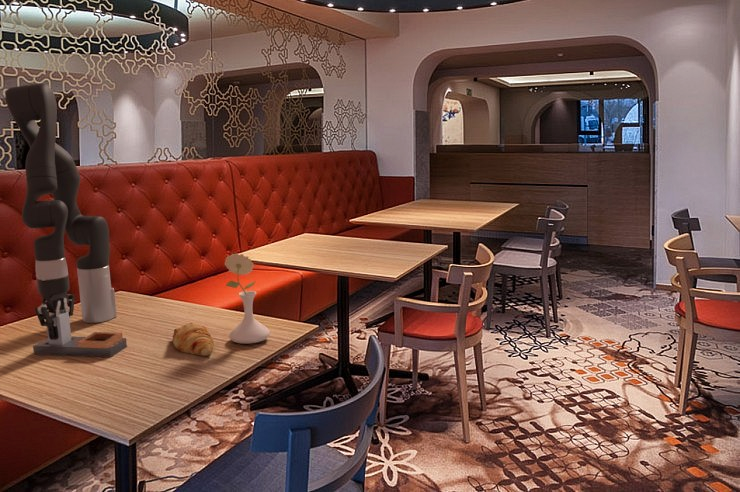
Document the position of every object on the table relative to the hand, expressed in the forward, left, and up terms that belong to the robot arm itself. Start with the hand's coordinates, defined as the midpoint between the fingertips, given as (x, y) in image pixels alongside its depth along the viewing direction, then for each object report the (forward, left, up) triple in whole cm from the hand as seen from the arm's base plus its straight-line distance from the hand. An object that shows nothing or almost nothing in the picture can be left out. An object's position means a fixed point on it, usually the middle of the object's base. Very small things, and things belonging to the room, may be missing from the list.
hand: (59, 336), depth 161 cm
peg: (0, 0, -4) cm, 4 cm away
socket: (-3, +5, -4) cm, 7 cm away
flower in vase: (-35, +36, -4) cm, 50 cm away
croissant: (-22, +28, -4) cm, 36 cm away
